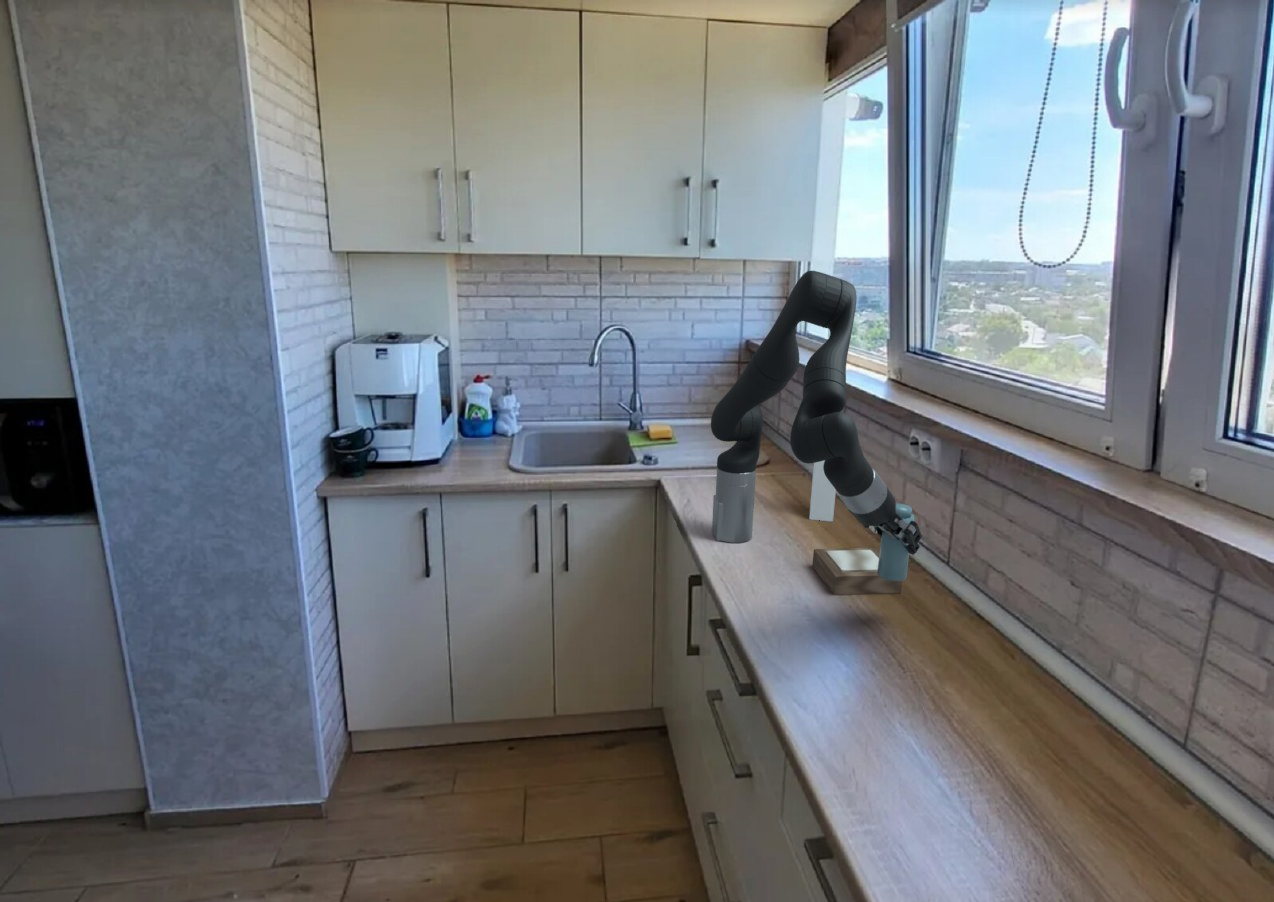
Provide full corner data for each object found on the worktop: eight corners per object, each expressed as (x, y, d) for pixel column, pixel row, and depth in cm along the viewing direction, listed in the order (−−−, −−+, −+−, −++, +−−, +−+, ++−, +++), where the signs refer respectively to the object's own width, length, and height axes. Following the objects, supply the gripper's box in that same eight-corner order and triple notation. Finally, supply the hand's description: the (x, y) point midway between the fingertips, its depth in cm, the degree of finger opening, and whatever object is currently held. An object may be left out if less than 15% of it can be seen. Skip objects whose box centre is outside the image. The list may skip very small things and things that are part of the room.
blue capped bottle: (883, 581, 135) (892, 512, 131) (872, 569, 140) (880, 502, 136) (911, 580, 135) (920, 512, 132) (899, 568, 140) (908, 502, 137)
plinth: (834, 594, 149) (836, 574, 148) (812, 565, 162) (814, 547, 161) (900, 592, 150) (903, 573, 149) (873, 564, 164) (875, 546, 162)
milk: (809, 519, 190) (815, 437, 184) (809, 512, 196) (815, 431, 190) (833, 522, 189) (840, 439, 183) (833, 514, 194) (840, 433, 189)
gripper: (911, 489, 122) (946, 542, 132) (845, 466, 134) (881, 516, 144) (887, 525, 121) (923, 575, 131) (822, 499, 133) (860, 547, 142)
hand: (901, 544), depth 137 cm, fingers closed on blue capped bottle, 5 cm apart
